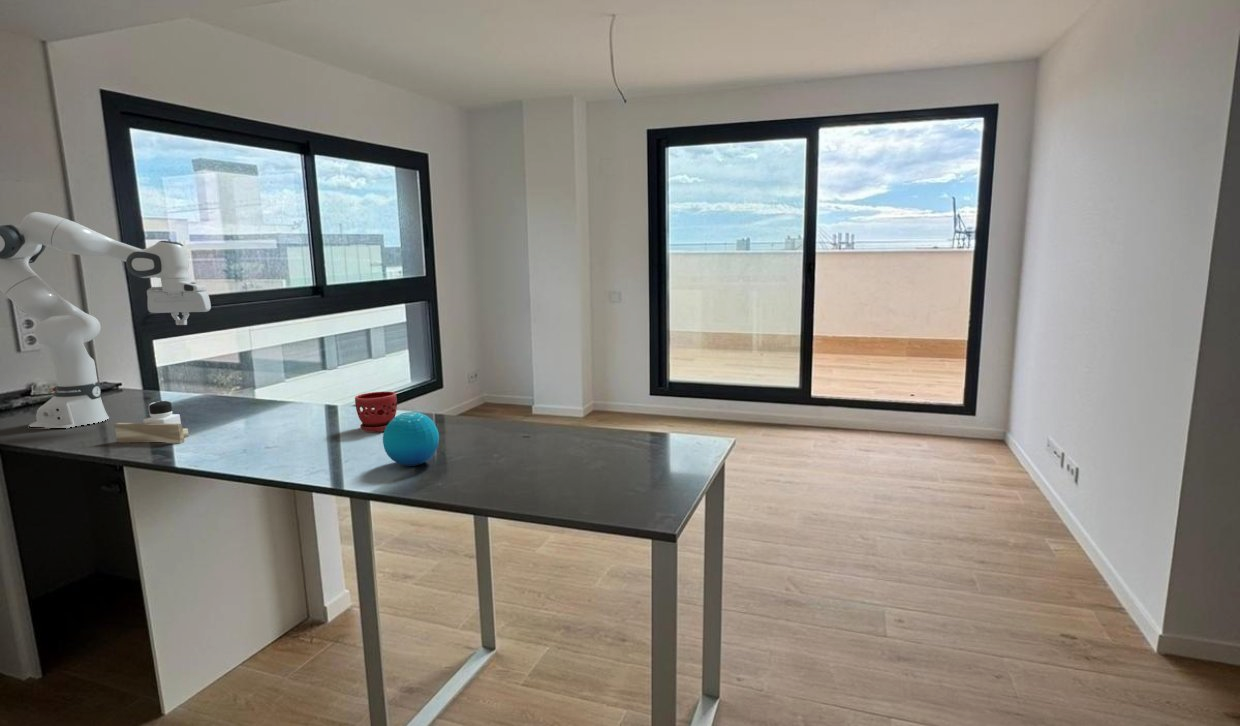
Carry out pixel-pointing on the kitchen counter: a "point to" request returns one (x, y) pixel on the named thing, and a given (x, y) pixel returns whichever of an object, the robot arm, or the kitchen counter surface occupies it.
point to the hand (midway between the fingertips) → (181, 324)
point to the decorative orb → (410, 438)
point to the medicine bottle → (162, 413)
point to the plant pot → (376, 410)
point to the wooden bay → (150, 432)
